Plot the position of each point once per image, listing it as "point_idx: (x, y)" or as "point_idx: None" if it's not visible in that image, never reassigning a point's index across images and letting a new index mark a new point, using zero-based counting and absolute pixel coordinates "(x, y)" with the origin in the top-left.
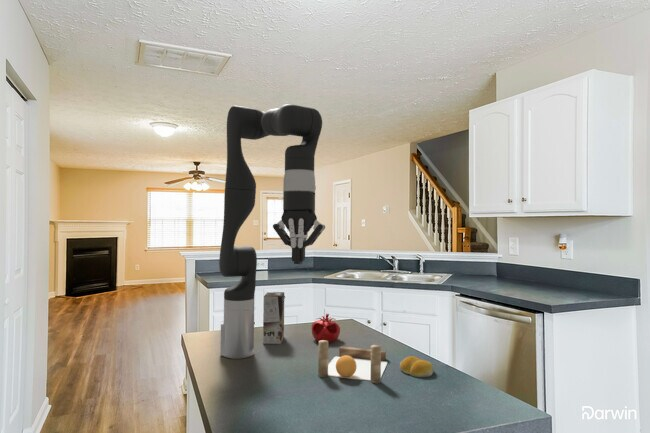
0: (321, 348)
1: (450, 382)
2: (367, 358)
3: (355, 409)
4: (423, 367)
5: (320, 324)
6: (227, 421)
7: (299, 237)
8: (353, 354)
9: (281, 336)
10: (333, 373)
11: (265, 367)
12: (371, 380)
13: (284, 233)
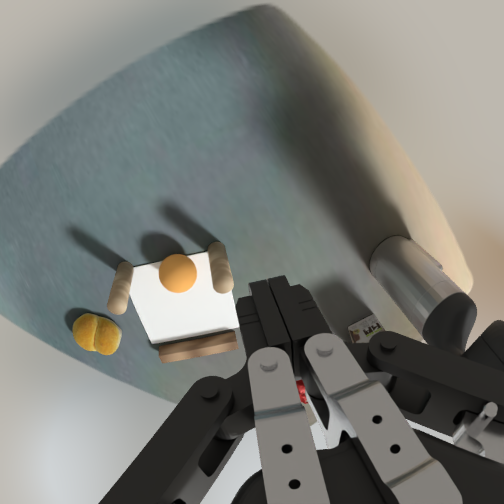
0: (221, 269)
1: (44, 314)
2: (186, 341)
3: (99, 154)
4: (77, 327)
5: (300, 385)
6: (265, 20)
7: (289, 408)
8: (210, 340)
9: (352, 337)
10: (202, 263)
11: (327, 231)
12: (128, 264)
13: (437, 400)
